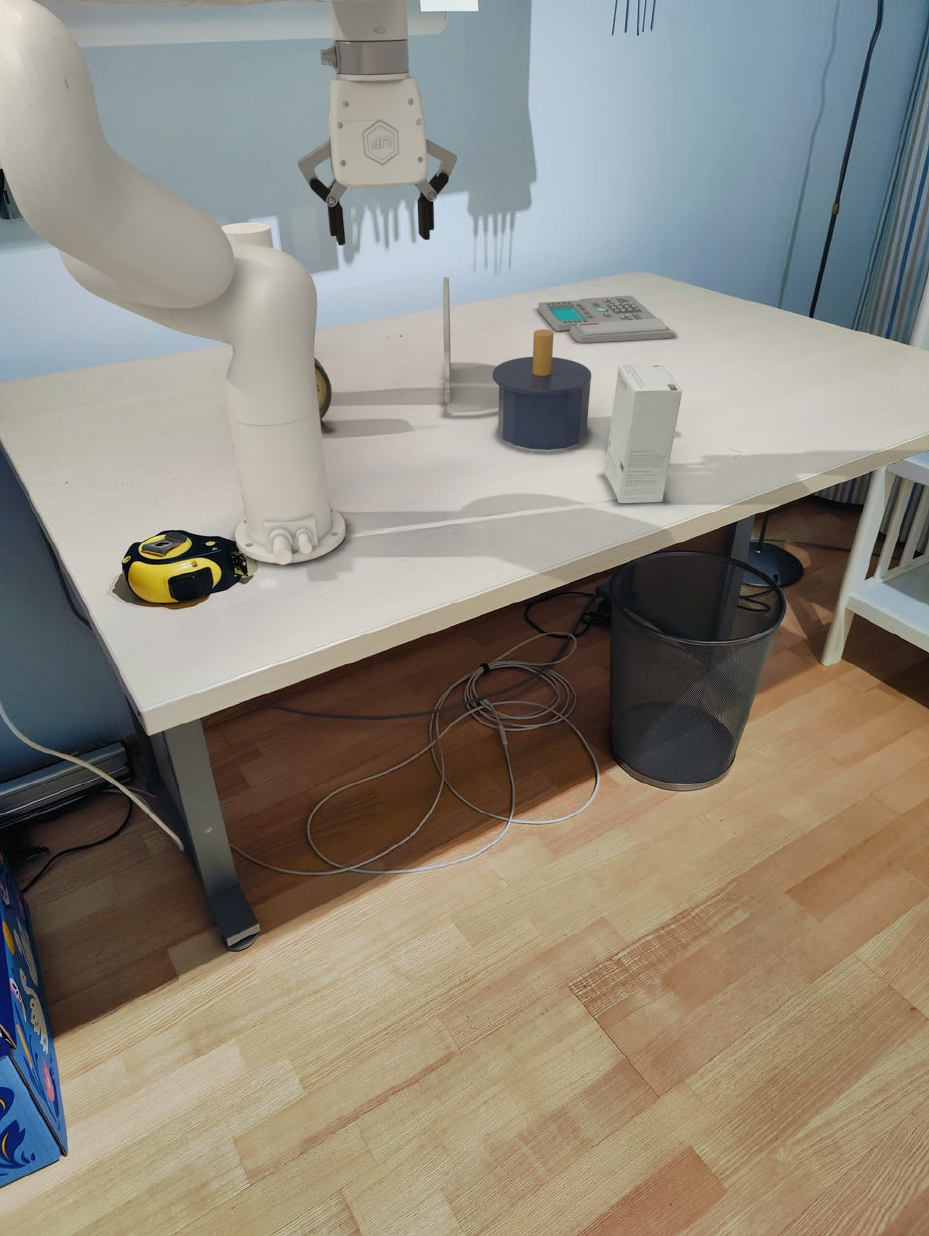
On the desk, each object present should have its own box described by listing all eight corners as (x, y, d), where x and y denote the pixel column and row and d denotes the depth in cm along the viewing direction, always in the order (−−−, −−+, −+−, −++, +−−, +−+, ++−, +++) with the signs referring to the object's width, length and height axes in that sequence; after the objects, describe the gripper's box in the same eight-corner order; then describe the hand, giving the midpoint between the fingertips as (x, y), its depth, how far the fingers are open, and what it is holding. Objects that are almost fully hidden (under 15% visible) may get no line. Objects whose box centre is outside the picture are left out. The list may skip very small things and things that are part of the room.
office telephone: (675, 324, 156) (568, 331, 153) (673, 338, 158) (567, 346, 155) (632, 288, 174) (535, 294, 172) (630, 301, 176) (535, 307, 173)
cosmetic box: (603, 475, 112) (614, 363, 104) (648, 473, 113) (663, 361, 104) (618, 506, 106) (631, 388, 97) (667, 503, 106) (684, 386, 97)
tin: (599, 447, 119) (604, 388, 114) (512, 457, 117) (514, 397, 112) (569, 413, 129) (572, 357, 124) (489, 422, 127) (489, 365, 122)
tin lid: (605, 394, 114) (609, 343, 110) (507, 404, 112) (508, 352, 108) (571, 361, 125) (575, 313, 121) (482, 369, 122) (482, 321, 118)
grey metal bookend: (446, 365, 146) (444, 261, 137) (524, 364, 146) (527, 260, 137) (445, 416, 129) (442, 301, 119) (534, 415, 129) (538, 300, 119)
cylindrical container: (282, 411, 131) (258, 234, 116) (238, 408, 132) (209, 232, 117) (299, 394, 137) (278, 223, 122) (256, 391, 138) (231, 221, 123)
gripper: (290, 66, 84) (309, 252, 94) (463, 61, 87) (464, 242, 97) (284, 61, 90) (303, 237, 100) (446, 57, 93) (449, 228, 103)
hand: (382, 240), depth 98 cm, fingers open, 9 cm apart
